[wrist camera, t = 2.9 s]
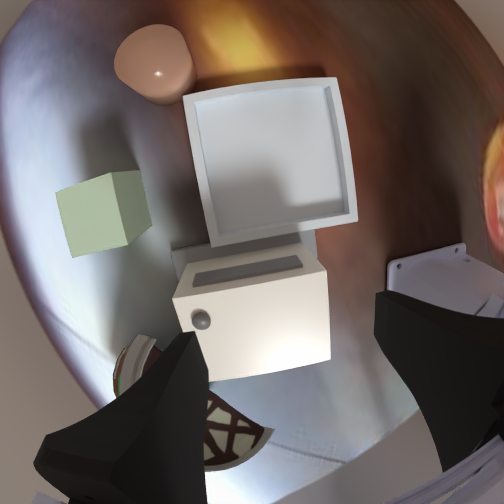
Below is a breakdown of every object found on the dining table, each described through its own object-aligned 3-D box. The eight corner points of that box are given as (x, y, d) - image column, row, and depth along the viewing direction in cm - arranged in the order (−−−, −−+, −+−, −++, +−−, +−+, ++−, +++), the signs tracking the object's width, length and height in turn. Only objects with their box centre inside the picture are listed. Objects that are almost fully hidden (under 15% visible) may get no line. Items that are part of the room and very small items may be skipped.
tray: (329, 82, 16) (336, 77, 15) (350, 217, 19) (358, 221, 18) (186, 100, 16) (182, 95, 15) (212, 241, 19) (211, 247, 18)
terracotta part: (193, 49, 15) (181, 16, 10) (200, 97, 16) (190, 74, 11) (138, 64, 15) (112, 38, 10) (144, 112, 16) (116, 96, 11)
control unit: (311, 224, 19) (344, 249, 13) (320, 320, 22) (346, 368, 16) (172, 249, 19) (147, 285, 13) (199, 342, 22) (191, 396, 16)
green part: (140, 170, 17) (111, 172, 13) (152, 225, 19) (128, 244, 14) (92, 184, 17) (55, 192, 13) (105, 236, 19) (72, 258, 14)
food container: (71, 387, 17) (85, 415, 10) (111, 337, 21) (148, 332, 14) (178, 460, 20) (243, 498, 13) (207, 414, 24) (279, 431, 17)
